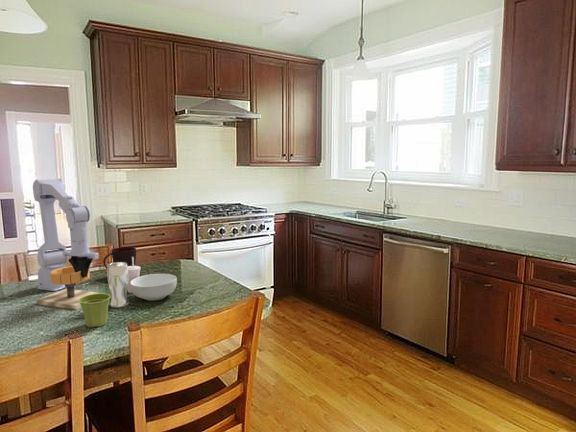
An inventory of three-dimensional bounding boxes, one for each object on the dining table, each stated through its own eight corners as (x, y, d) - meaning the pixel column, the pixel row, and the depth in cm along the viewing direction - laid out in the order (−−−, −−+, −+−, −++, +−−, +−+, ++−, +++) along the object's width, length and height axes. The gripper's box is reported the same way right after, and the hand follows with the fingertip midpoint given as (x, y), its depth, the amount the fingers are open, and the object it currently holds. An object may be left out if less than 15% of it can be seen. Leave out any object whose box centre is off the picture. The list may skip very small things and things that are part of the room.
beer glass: (117, 309, 150) (115, 267, 148) (105, 305, 154) (102, 265, 152) (134, 303, 156) (131, 263, 154) (121, 300, 160) (119, 260, 157)
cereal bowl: (153, 288, 174) (153, 271, 173) (186, 293, 167) (185, 276, 166) (121, 300, 159) (120, 282, 158) (155, 307, 152) (154, 288, 151)
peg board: (36, 303, 155) (35, 287, 154) (67, 292, 169) (66, 276, 168) (76, 309, 150) (74, 292, 149) (104, 297, 163) (103, 281, 162)
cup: (140, 275, 191) (139, 249, 189) (108, 281, 182) (106, 254, 181) (132, 271, 199) (131, 245, 197) (101, 276, 190) (99, 250, 188)
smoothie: (136, 294, 166) (134, 259, 164) (121, 293, 167) (119, 258, 165) (144, 289, 172) (143, 255, 170) (130, 288, 173) (128, 254, 171)
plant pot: (73, 327, 135) (71, 300, 134) (97, 316, 144) (95, 291, 142) (95, 331, 131) (93, 304, 130) (118, 321, 140) (117, 295, 139)
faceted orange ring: (43, 283, 154) (42, 273, 154) (70, 273, 166) (69, 264, 166) (71, 285, 151) (70, 276, 150) (96, 275, 163) (96, 266, 162)
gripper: (103, 239, 156) (106, 275, 158) (72, 236, 161) (74, 272, 163) (89, 243, 150) (92, 280, 152) (56, 240, 154) (59, 277, 156)
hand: (82, 276), depth 157 cm, fingers closed on faceted orange ring, 2 cm apart
